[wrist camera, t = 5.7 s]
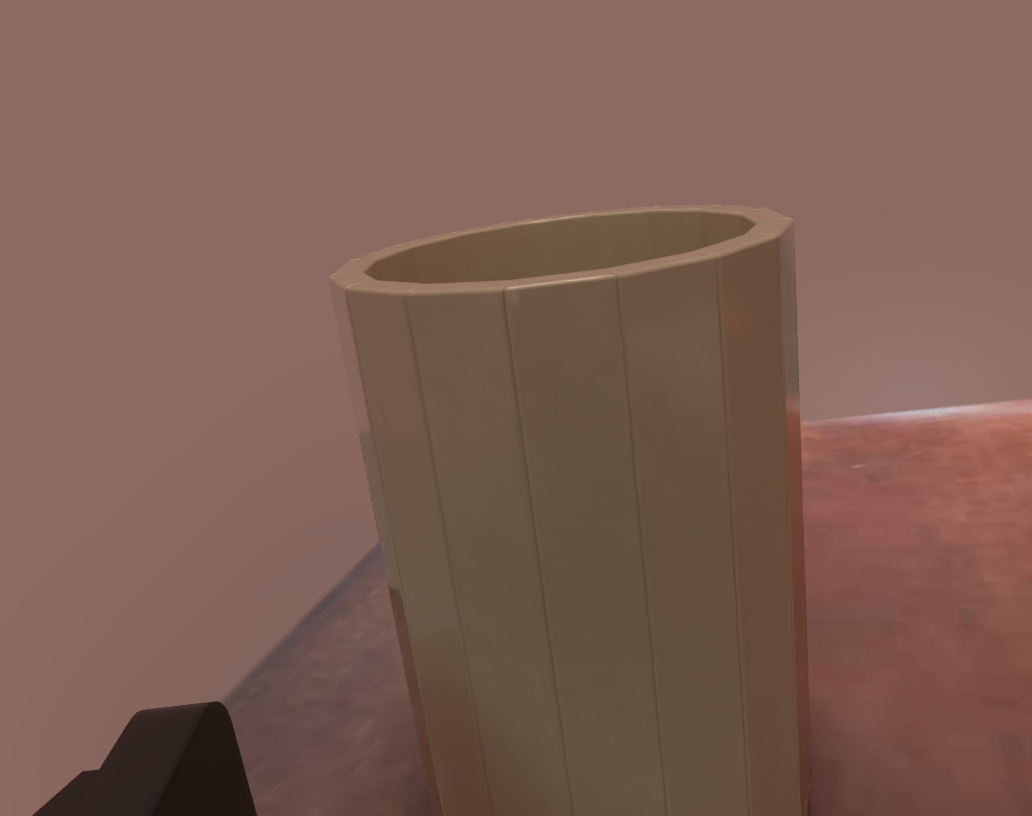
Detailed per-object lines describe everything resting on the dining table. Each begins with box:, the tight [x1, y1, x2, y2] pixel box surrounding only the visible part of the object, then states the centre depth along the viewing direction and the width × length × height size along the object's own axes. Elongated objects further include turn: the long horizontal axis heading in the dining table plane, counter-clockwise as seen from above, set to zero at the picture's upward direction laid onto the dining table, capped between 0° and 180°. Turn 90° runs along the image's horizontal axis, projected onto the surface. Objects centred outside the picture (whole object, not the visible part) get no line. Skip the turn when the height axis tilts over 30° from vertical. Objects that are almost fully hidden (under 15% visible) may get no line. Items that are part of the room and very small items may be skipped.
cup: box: [329, 204, 811, 816], centre depth 15 cm, size 7×7×10 cm
